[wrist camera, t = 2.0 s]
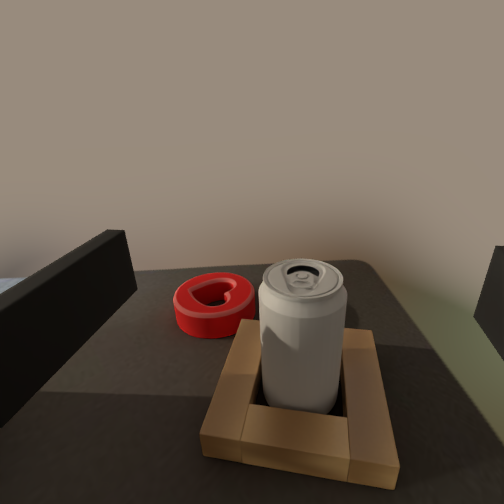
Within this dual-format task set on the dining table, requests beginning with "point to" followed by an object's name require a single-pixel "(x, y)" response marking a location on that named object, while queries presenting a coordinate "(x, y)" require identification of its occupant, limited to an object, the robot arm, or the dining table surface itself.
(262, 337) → the beverage can
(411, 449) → the dining table surface
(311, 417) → the can stand
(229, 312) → the decorative ornament
